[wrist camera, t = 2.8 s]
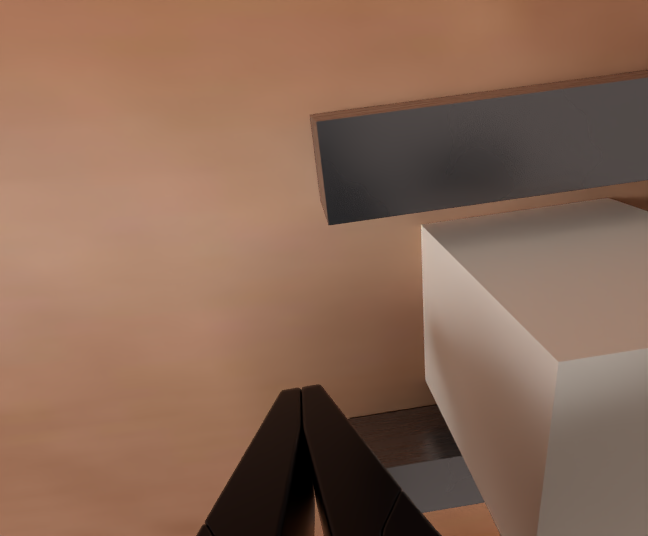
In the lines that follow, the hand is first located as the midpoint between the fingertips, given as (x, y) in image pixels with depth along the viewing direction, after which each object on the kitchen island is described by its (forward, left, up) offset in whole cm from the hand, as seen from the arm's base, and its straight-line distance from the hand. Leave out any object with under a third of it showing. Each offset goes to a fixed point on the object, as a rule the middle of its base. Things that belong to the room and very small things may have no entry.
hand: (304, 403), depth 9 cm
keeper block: (0, -6, -3) cm, 7 cm away
